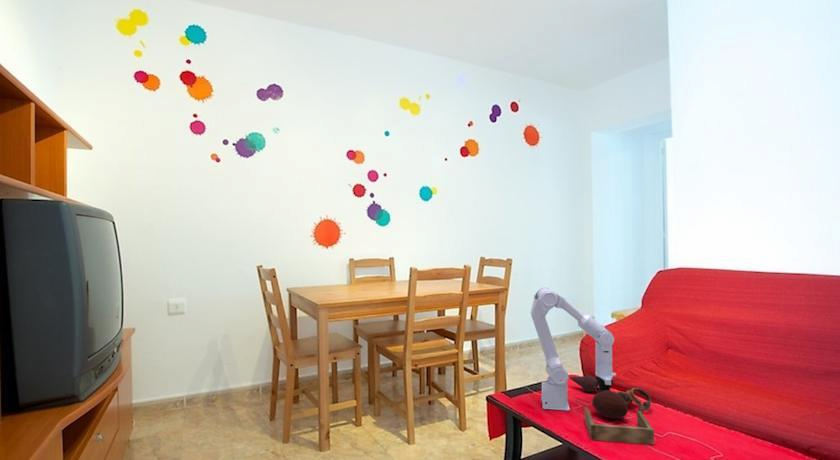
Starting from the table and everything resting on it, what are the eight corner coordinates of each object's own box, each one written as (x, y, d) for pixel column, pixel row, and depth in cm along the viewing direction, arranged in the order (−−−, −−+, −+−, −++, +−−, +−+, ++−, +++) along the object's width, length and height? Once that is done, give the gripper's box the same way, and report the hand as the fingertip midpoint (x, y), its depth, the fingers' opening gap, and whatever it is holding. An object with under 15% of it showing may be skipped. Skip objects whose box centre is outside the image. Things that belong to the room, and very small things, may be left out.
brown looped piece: (637, 403, 165) (647, 387, 161) (647, 423, 156) (658, 408, 153) (607, 396, 164) (617, 380, 161) (616, 416, 156) (626, 400, 152)
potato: (624, 426, 144) (623, 399, 144) (588, 417, 152) (587, 390, 152) (632, 418, 150) (631, 391, 150) (597, 409, 158) (596, 384, 158)
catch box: (591, 439, 136) (591, 425, 136) (584, 420, 149) (584, 407, 149) (654, 444, 132) (653, 429, 132) (641, 424, 145) (640, 411, 145)
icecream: (565, 374, 178) (602, 386, 168) (572, 366, 183) (609, 376, 173) (566, 389, 180) (603, 401, 170) (573, 380, 185) (609, 391, 175)
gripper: (620, 367, 152) (620, 406, 152) (611, 356, 167) (611, 391, 167) (598, 366, 154) (599, 404, 154) (591, 355, 168) (592, 390, 168)
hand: (604, 397), depth 160 cm, fingers closed
